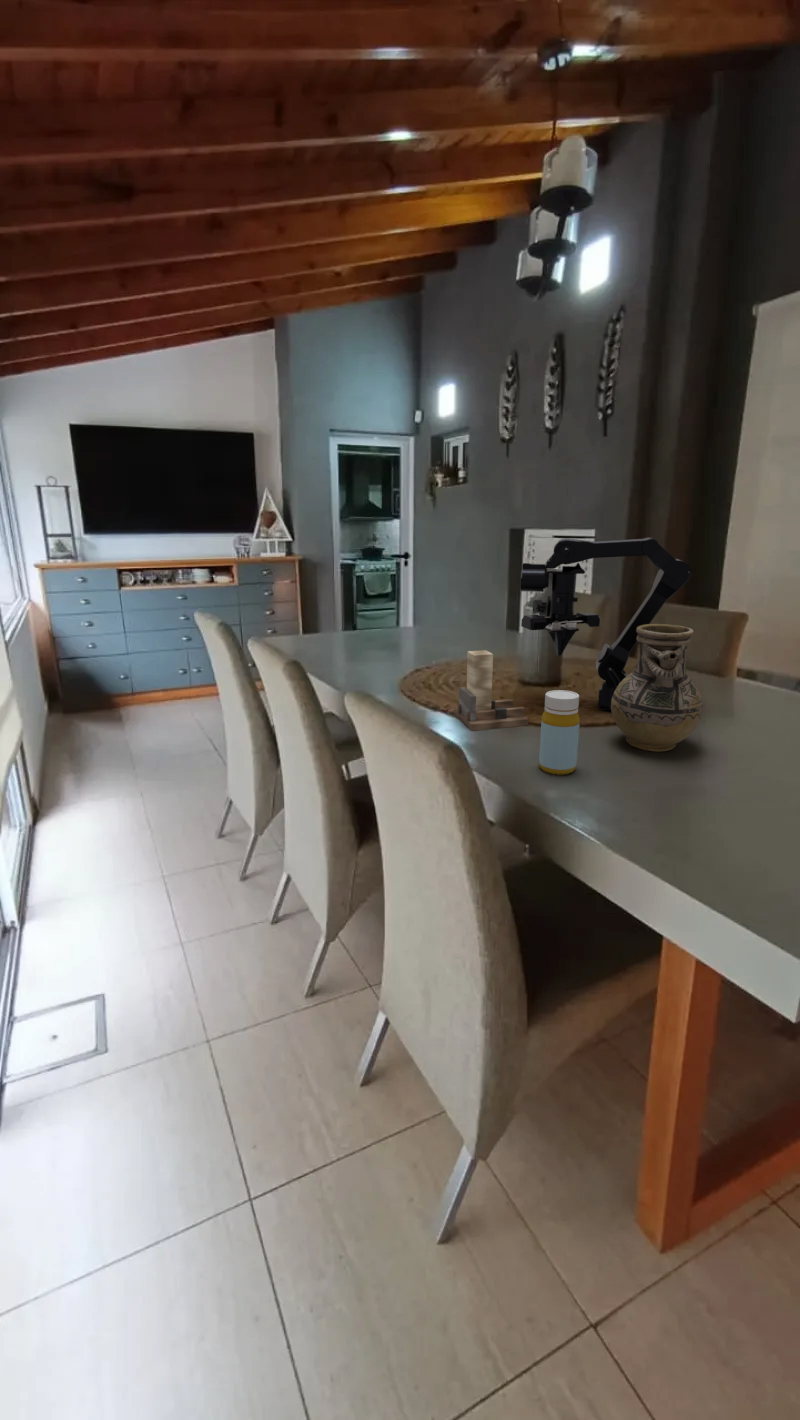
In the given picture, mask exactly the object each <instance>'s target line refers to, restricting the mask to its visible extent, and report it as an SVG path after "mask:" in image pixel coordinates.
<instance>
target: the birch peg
mask: <svg viewBox="0 0 800 1420" xmlns="http://www.w3.org/2000/svg"><path fill="white" fill-rule="evenodd" d="M466 655H467V657H466V658H467V659H466V660H467V662H466V689H467V690H469V691H470V692H471V693H472V694H474V695H475V696H476V711H482V710H491V701H492V699H493V698H492V695H493V693H492V692H493V669H494V668H493V664H494V661H493V659H494V654H493V653H492V652H490V651H489V650H485V649H484V650H469V651H467V654H466Z"/></svg>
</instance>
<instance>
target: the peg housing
mask: <svg viewBox="0 0 800 1420" xmlns="http://www.w3.org/2000/svg"><path fill="white" fill-rule="evenodd" d="M458 691H459V693H458V694H459V695H458V697H459V699H458V703H457V708H455V709H454V713H453V714H454V715H453V716H455V717H456V718H457V719H458V720H459V721H460V722H461V723H462V724H463V725H464V726H466V728H468V729H469V730H470V731H472V732H474V731H484V730H494V729H504V728H513V727H523V726H529V718H528V717H527V716H525V715H526V713H525V712H526V708H525V707H524V706H516V707H514V699H512V698H511V699H501V700H499V699H498V700H497V699H496V700H494V699H493V698H492V701H491V710H482V711H476V696H475V695H474V694H472V693H471V692H470V691H469V690H467V687H465V686H463V687H459V690H458Z"/></svg>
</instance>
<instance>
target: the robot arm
mask: <svg viewBox="0 0 800 1420" xmlns="http://www.w3.org/2000/svg"><path fill="white" fill-rule="evenodd" d="M639 556H645V557H646V559H648V560H649V562H651V563H652V565H654V566H655V567H656V568H657V569H658V572H657V574H656V576H655V578H654V580H653V584H652V585H651V587H652V588H651V589H650V592H649V593H648V594H647V596H646V598H645V599H644V600H643V602H642V603H641V605H640V606H639V607H638V609H637V611H636V612H635V613H634V614H633V616H632V617H631V619H630V621H628V624H627V625H626V626H625V628H624V629H623V630H622V632H621V634H620V635H619V637H618V638H617V639H616V640H615V641H614V642H613V643H612V644H611V645H609V644H608V643H607V642H605V643H604V644H603V646H602V649H601V651H599V653H598V654H596V655H595V656H596V661H595V667H596V671H597V673H598V677H599V678H600V679H602V680H603V682H602V683H601V687H600V688H599V690H598V701H597V706H598V707H599V709H600V710H599V709H598V710H599V711H604V710H611V700H612V697H613V694H614V692H615V690H616V688H617V686H618V685H619V684H620V682H621V681H622V680H623V679H624V678H625V677H626V676H628V675H629V674H628V673H627V671H626V670H625V667H626V666H627V664H628V660H629V658H630V655H631V652H632V650H633V648H634V647H635V646H636V644H637V643H638V641H637V636H638V633H637V632H636V630H637V627H638V626H641V625H645V624H652V623H651V622H653V620H654V619H655V617H656V616H657V615H658V613H659V611H660V610H661V609H662V607H663V606H664V604H665V603H666V602H667V601H668V600H669V599H670V598H671V597H672V596H674V595H675V594H676V593H677V592H679V590H680V589H681V588H682V587H683V586H685V584H687V582H688V581H689V580H690V579H691V576H692V571H691V567H690V565H689V564H688V563H687V562H685V561H683V560H681V559H678V558H675V557H673V555H672V554H670V553H669V552H668V551H667V550H666V549H665V548H664V547H662V546H661V545H660V543H659V542H658V541H657V539H655V538H653V537H644V538H639V539H638V538H636V539H634V538H633V539H619V540H618V539H617V540H602V541H601V540H599V541H597V540H596V541H592V540H591V541H590V540H585V539H578V538H577V539H576V538H567V537H566V538H561V539H559V540H557V542H556V543H555V544H554V546H553V553H552V555H551V556H550V557H549V558H548V559H546V562H545V563H530V562H523V563H522V565H521V568H522V569H521V576H520V583H519V584H520V586H519V587H520V588H519V589H520V590H519V591H520V592H531V593H532V592H533V593H534V592H535V593H537V592H539V593H543V592H544V589H548V588H549V586H550V585H549V583H550V574H551V586H550V587H551V588H550V595H549V594H548V595H547V600H546V602H545V601H544V602H543V600H542V599H535V600H533V601H532V613H533V614H527V615H523V617H522V619H521V623H520V624H521V625H520V626H521V627H522V628H524V629H527V630H530V631H541V630H543V631H547V633H548V634H549V637H550V639H551V641H552V645H553V648H554V651H555V655H556V656H557V657H559V656H562V655H563V654H564V651H565V650H566V648H567V647H568V644H569V642H570V641H571V639H572V638H573V636H574V635H575V633H576V632H579V631H580V628H578V627H577V624H578V625H580V624H581V625H583V624H585V625H587V626H588V627H589V628H594V627H596V628H597V627H601V617H600V615H599V614H597V613H595V612H594V613H593V612H591V611H583V612H577V613H575V603H578V597H577V596H576V585H577V575H580V574H581V575H584V574H585V573H586V571H585V569H584V568H583V567H582V566H581V565H580V563H579V562H583V561H584V562H585V561H588V560H592V559H597V558H599V559H600V558H601V559H603V558H616V557H617V558H619V557H639ZM575 563H576V564H575ZM571 564H572V565H571ZM573 564H575V565H573ZM559 566H562V567H561V569H556V568H558V567H559Z"/></svg>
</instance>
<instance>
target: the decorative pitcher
mask: <svg viewBox="0 0 800 1420" xmlns="http://www.w3.org/2000/svg"><path fill="white" fill-rule="evenodd" d="M636 632H637V633H638V636H637V643H638V646H637V657H636V664H635V667H634V669H633V670H632V672H630V673H629V674H627V675H628V676H626V677H625V678H624V679H623V680H622V681H621V682H620V684H619V685H618V686H617V688H616V690H615V692H614V694H613V697H612V700H611V711H610V712H611V715H612V718H613V720H614V722H615V724H616V725H617V727H618V729H619V730H620V731H621V732H622V734H624V735H625V737H626V742H627V743H628V744H629V746H632V747H635V748H636V749H639V750H643V751H647V752H648V751H649V752H661V753H662V752H668V751H672V750H673V749H675V748H676V746H677V744H678V743H680V742H682V741H684V740H686V739H687V738H688V737H689V736H690V735H691V734H692V733H693V732H694V731H695V730H696V728H697V727H698V725H699V724H700V721H701V719H702V716H703V706H704V704H703V698H702V696H701V694H700V693H701V692H700V691H699V689H698V688H697V686H696V684H695V683H694V682H693V680H692V679H691V678H690V677H689V676H688V674H687V668H686V667H687V666H686V665H687V655H688V645H689V644H690V643H691V639H690V638H691V637H692V636H693V634H694V630H693V629H692V628H690V627H687V626H684V625H677V624H665V623H663V624H662V623H650V624H645V625H641V626H638V627H637V630H636Z"/></svg>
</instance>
